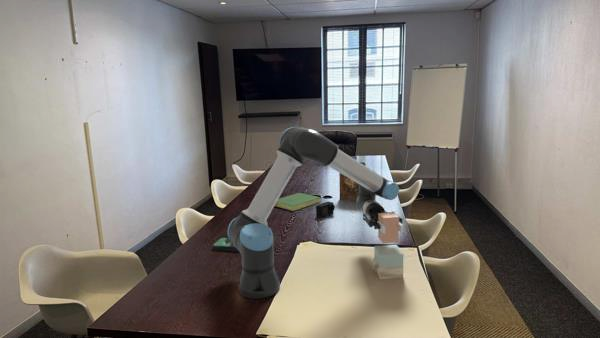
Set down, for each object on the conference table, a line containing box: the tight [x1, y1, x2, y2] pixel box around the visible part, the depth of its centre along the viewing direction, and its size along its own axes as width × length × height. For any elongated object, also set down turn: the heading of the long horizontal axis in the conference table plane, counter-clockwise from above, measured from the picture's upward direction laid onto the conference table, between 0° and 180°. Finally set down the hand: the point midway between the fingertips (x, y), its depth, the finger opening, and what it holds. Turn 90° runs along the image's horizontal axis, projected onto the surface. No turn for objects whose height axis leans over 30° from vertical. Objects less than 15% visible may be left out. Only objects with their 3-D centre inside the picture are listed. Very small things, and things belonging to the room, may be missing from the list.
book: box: [338, 161, 366, 203], centre depth 256 cm, size 16×6×25 cm, turn 58°
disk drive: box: [212, 237, 240, 253], centre depth 189 cm, size 10×3×15 cm
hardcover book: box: [274, 192, 321, 212], centre depth 253 cm, size 25×19×4 cm
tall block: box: [377, 211, 400, 244], centre depth 154 cm, size 6×6×10 cm
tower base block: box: [373, 257, 404, 280], centre depth 157 cm, size 9×9×5 cm
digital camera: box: [315, 201, 336, 219], centre depth 229 cm, size 10×5×7 cm, turn 135°
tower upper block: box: [373, 244, 404, 268], centre depth 156 cm, size 9×9×5 cm
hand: (393, 229), depth 149 cm, fingers closed on tall block, 6 cm apart
